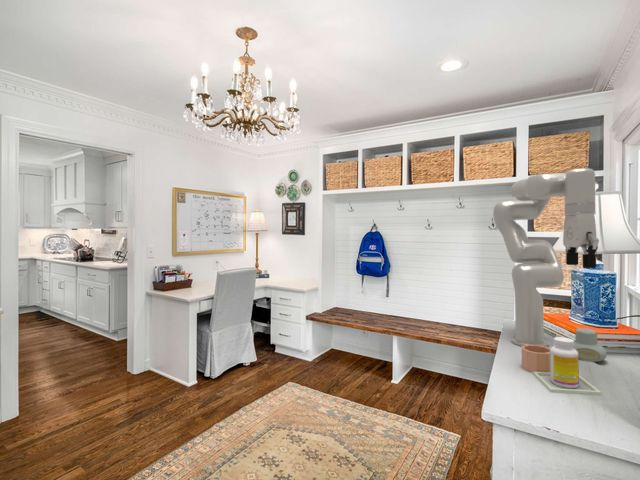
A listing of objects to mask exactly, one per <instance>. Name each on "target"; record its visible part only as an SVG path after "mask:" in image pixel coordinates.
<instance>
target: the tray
mask: <svg viewBox="0 0 640 480" xmlns="http://www.w3.org/2000/svg"><path fill="white" fill-rule="evenodd" d="M532 375H533V376H534V377H535V378H536V380H538V381H539V382H540V383H541V384H542V385H543V386H544V387H545V388H546V389H547V390H548V391H549V392H550V393H557V394H573V395H588V396H589V395H590V396H602V391H601V390H599V389H598V388H596V387H595V386H594V385H592V383H590V382H589V381H587V380H586V378H584V377H582V376H581V375H580V374H579V382H581V383H582V384H584V385H585V386H586V387H587V388H589V389H590V390H589V389H588V390H587V389H576V388H558V387H557V388H555V387H552V386H551V385H550V384H549V383H548V382H547V381H546V380H545V379H544V378H543V377H550V373H549V372H532ZM542 376H543V377H542Z"/></svg>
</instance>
